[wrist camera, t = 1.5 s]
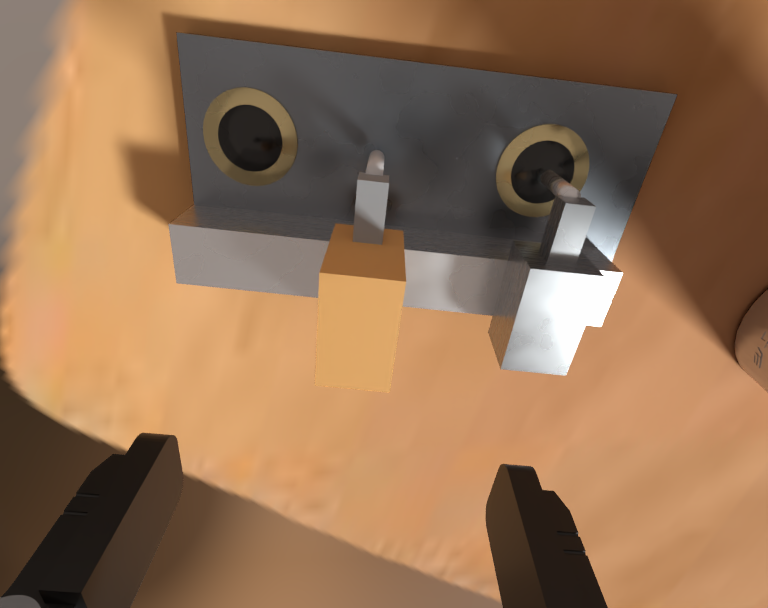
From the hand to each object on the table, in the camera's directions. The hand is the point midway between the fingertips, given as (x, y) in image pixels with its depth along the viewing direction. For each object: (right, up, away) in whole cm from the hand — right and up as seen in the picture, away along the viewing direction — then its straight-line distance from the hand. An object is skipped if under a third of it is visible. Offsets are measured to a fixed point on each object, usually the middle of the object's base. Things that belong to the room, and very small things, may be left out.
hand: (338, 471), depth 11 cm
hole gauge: (+3, +10, +12) cm, 16 cm away
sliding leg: (0, +8, +11) cm, 13 cm away
